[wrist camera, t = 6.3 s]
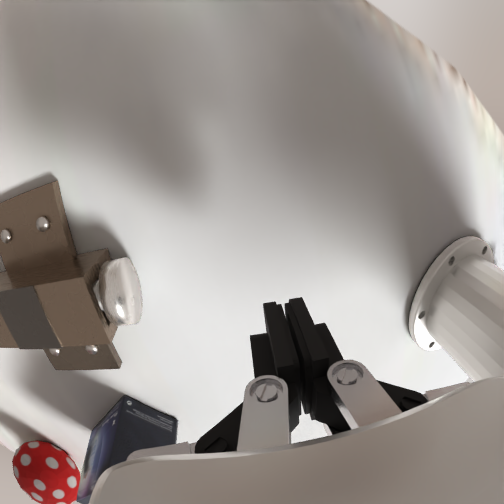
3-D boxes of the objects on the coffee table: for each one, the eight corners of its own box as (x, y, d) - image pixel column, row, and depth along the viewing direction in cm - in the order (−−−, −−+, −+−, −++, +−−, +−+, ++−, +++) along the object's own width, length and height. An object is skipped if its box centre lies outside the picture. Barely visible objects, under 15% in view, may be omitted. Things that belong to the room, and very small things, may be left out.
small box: (121, 390, 21) (101, 488, 12) (180, 418, 24) (180, 511, 14) (88, 429, 23) (72, 502, 14) (137, 451, 26) (131, 522, 16)
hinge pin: (129, 247, 17) (110, 275, 13) (146, 302, 18) (134, 337, 15) (-4, 276, 16) (-31, 299, 12) (14, 317, 17) (-8, 344, 13)
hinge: (89, 170, 15) (54, 180, 11) (149, 359, 20) (141, 400, 16) (-23, 214, 14) (-57, 231, 10) (40, 364, 19) (23, 395, 15)
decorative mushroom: (41, 503, 20) (49, 526, 13) (3, 450, 22) (-5, 456, 15) (83, 480, 30) (104, 494, 22) (47, 430, 31) (54, 429, 24)
